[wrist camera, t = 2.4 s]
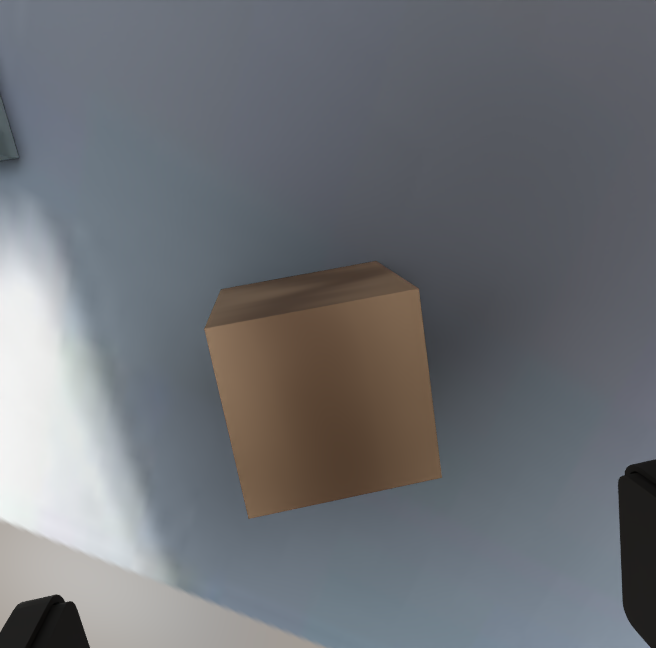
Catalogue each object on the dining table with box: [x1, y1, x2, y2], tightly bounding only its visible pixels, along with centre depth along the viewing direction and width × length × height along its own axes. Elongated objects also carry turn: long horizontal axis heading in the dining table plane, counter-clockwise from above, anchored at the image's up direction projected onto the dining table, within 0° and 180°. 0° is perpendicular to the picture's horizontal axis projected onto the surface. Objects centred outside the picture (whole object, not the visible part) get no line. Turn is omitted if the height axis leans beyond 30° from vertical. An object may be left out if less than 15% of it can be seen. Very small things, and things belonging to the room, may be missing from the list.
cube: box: [204, 261, 442, 519], centre depth 18 cm, size 6×6×6 cm
